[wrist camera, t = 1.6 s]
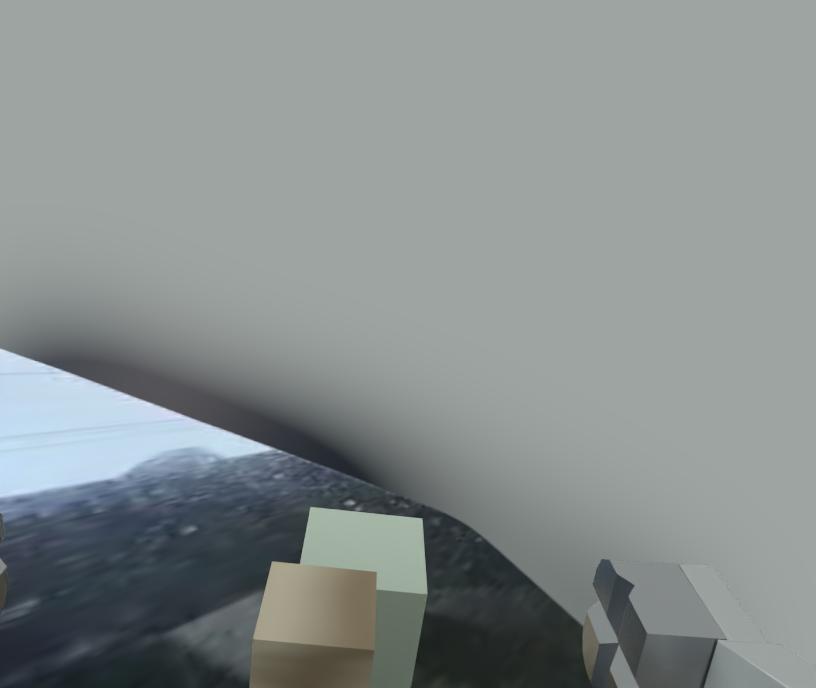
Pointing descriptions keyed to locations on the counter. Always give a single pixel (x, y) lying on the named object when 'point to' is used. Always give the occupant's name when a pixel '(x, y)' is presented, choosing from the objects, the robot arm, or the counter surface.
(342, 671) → the maple pillar
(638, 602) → the robot arm
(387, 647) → the sage block
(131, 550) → the counter surface
